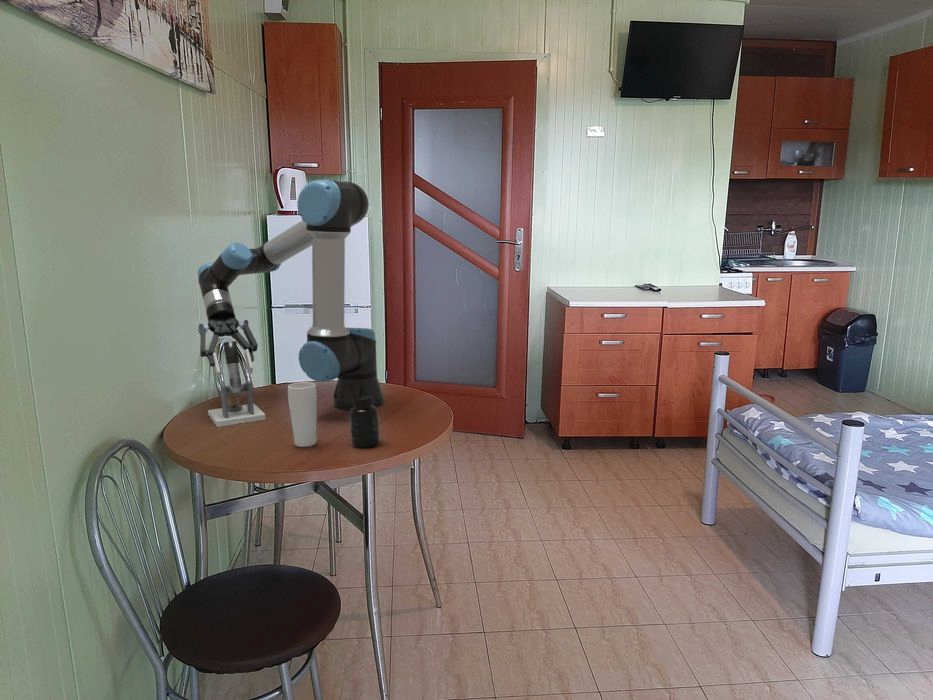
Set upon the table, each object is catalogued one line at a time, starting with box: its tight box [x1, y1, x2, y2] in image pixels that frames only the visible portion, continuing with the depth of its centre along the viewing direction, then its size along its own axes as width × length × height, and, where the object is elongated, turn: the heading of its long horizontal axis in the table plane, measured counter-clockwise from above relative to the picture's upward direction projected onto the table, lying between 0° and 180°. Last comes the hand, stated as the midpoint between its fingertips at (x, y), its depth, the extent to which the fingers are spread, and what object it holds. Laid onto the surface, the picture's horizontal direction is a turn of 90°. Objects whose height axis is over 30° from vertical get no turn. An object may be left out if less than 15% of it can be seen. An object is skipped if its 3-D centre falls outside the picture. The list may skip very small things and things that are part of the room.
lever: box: [223, 340, 247, 395], centre depth 192 cm, size 10×5×14 cm, turn 29°
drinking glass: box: [287, 381, 318, 448], centre depth 166 cm, size 7×7×15 cm
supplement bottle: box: [349, 395, 380, 449], centre depth 166 cm, size 7×7×12 cm
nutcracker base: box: [207, 379, 267, 428], centre depth 192 cm, size 14×13×10 cm
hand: (235, 372), depth 188 cm, fingers open, 8 cm apart
